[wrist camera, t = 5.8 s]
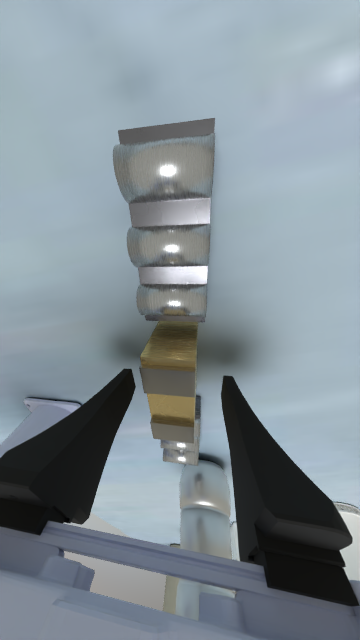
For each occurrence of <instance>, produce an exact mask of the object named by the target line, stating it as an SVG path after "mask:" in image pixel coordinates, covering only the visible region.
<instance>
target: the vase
mask: <svg viewBox="0 0 360 640" xmlns="http://www.w3.org/2000/svg"><path fill="white" fill-rule="evenodd" d="M333 503H334V505H335V507H336V508H337V510H338V512H339V513H340V515H341V517H342V518H343V520H344V522H345V524H346V526H347V528H348V530H349V532H350V534H351V536H352V538H353V541H352V544H351V545H349V546H347V547H345V548H343V549H341V550H339V551H340V553H341V555H342V557H343V560H344V562H345V565H346V567H343V568H344V570H345V573H346V575H347V577H348V580H357V581H360V510H359V509H358V508H356V507H354V506H351V505H348V504H343V503H335V502H333Z"/></svg>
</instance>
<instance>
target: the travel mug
mask: <svg viewBox="0 0 360 640" xmlns="http://www.w3.org/2000/svg"><path fill="white" fill-rule="evenodd" d="M170 546H171V547H175V548H180V545H179V544H172V545H170ZM178 583H179V578H177V577H173V576H169V575H167V576H166V585H165V595H164V605H163V611H164V612H167V613H171V614H175V607H176V596H177V585H178Z"/></svg>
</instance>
